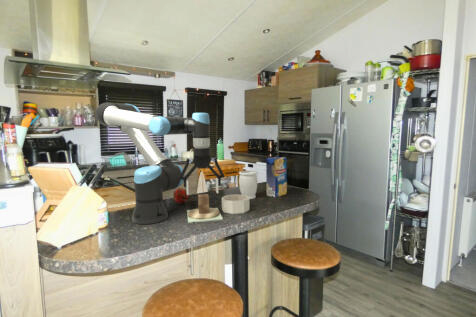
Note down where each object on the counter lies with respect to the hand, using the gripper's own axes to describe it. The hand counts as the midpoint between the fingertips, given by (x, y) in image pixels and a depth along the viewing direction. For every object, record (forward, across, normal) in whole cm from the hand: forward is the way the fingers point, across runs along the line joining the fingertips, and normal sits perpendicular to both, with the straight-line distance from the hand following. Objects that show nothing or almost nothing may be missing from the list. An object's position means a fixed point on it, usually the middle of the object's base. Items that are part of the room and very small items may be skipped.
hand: (202, 193), depth 125 cm
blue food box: (+10, +46, +28) cm, 55 cm away
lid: (+10, 0, 0) cm, 10 cm away
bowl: (+10, +16, +5) cm, 20 cm away
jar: (+10, +28, +26) cm, 40 cm away
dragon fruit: (+11, -10, +26) cm, 29 cm away
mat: (+10, 0, 0) cm, 10 cm away
